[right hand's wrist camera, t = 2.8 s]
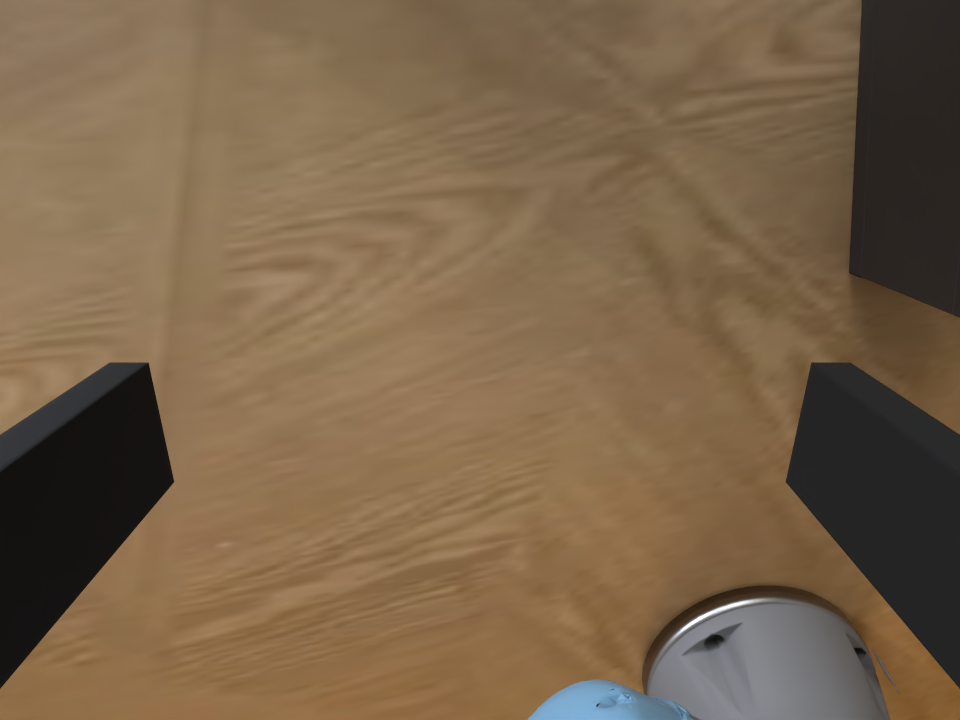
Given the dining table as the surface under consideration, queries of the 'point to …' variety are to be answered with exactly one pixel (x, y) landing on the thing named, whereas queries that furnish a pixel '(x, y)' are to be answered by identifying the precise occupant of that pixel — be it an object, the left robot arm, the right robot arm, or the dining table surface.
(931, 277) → the cabinet
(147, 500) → the right robot arm
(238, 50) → the dining table surface
